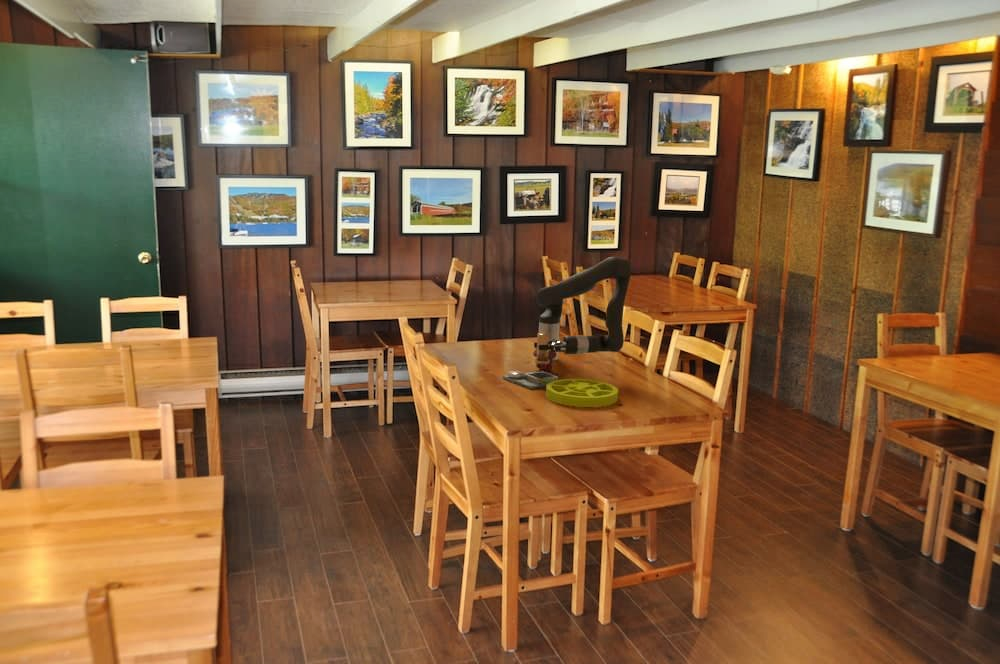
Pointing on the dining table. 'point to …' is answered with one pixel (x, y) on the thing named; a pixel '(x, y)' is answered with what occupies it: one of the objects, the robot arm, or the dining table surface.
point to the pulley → (581, 392)
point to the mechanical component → (547, 366)
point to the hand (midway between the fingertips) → (536, 346)
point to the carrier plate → (531, 379)
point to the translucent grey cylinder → (543, 354)
